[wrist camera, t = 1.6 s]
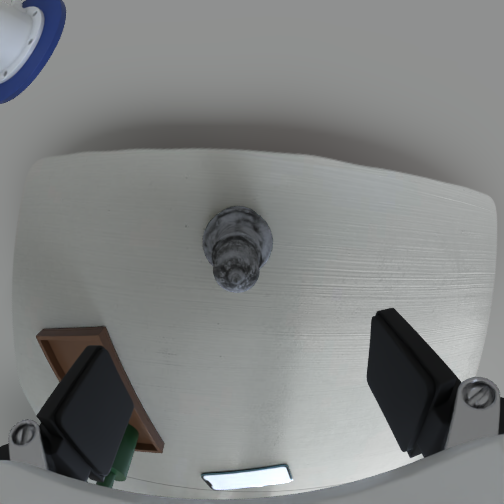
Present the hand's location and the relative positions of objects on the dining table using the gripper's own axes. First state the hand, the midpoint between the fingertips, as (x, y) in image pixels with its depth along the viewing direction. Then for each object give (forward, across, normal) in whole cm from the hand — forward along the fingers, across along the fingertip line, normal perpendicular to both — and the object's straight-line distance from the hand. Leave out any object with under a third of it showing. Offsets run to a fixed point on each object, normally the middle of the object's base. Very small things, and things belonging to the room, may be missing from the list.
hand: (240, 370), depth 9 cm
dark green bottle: (+19, +23, +27) cm, 40 cm away
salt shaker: (+19, 0, 0) cm, 19 cm away
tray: (+19, +23, +20) cm, 36 cm away
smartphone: (+20, +6, +45) cm, 49 cm away
